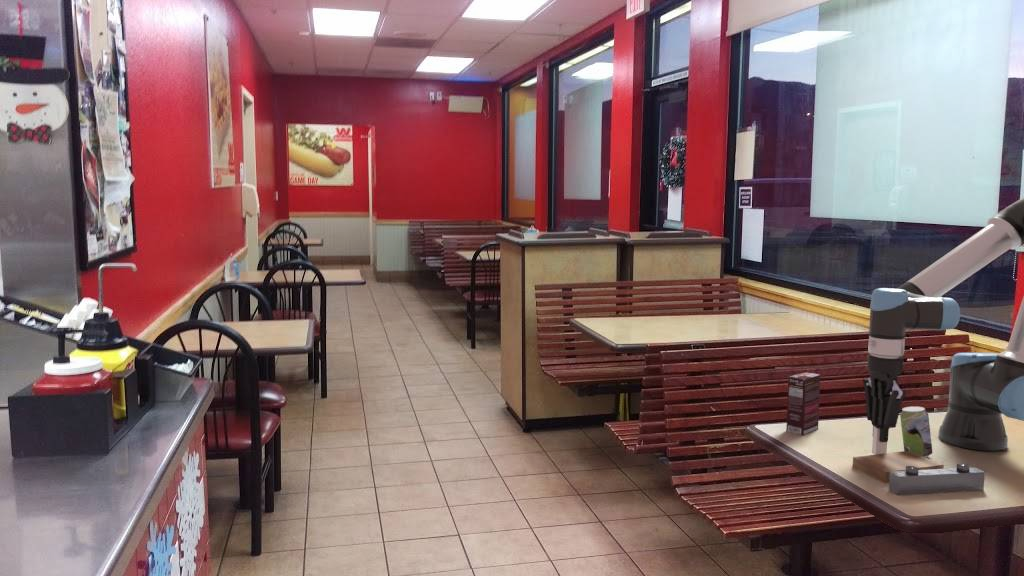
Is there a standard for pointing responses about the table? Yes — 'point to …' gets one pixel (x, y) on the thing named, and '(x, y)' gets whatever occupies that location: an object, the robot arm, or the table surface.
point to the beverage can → (916, 430)
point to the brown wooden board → (892, 464)
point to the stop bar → (936, 480)
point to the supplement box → (803, 403)
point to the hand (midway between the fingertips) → (879, 453)
